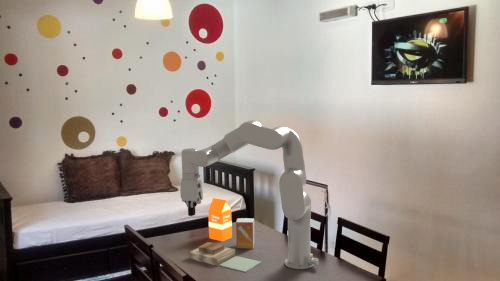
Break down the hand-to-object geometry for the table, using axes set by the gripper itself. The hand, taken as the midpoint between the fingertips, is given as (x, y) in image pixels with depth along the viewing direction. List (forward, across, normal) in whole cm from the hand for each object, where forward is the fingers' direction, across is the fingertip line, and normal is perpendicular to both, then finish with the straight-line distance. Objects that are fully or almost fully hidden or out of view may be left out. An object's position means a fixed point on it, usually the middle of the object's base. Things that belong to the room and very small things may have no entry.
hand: (191, 215), depth 215 cm
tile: (+15, -11, 0) cm, 18 cm away
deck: (+18, -12, 0) cm, 21 cm away
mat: (+18, -27, 0) cm, 32 cm away
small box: (+18, -16, -19) cm, 31 cm away
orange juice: (+18, +2, -23) cm, 29 cm away
